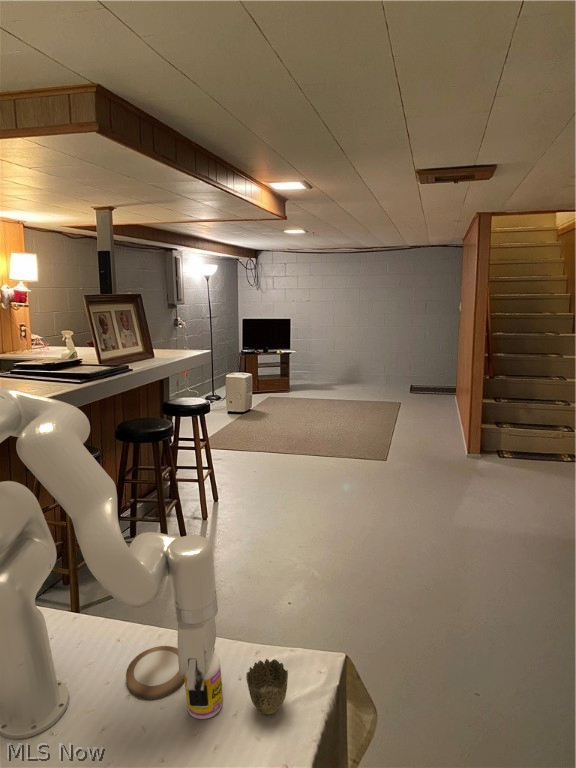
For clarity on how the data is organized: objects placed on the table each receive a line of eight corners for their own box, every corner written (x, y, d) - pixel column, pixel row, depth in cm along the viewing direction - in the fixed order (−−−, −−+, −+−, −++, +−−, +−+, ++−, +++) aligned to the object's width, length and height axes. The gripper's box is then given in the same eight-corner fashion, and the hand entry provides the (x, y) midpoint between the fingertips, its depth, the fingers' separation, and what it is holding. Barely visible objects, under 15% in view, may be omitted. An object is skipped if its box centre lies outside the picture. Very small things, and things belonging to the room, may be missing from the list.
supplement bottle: (216, 723, 100) (211, 665, 96) (181, 718, 101) (175, 660, 97) (228, 693, 106) (223, 637, 102) (194, 688, 107) (189, 633, 104)
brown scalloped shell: (242, 702, 104) (239, 667, 102) (278, 687, 107) (276, 652, 105) (259, 733, 98) (256, 697, 95) (296, 716, 101) (295, 680, 98)
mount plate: (117, 698, 106) (116, 691, 105) (138, 651, 117) (137, 644, 117) (180, 700, 105) (179, 692, 104) (194, 652, 116) (194, 645, 116)
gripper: (186, 574, 106) (194, 652, 111) (160, 641, 89) (171, 728, 94) (225, 574, 105) (231, 652, 110) (206, 642, 89) (215, 730, 94)
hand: (203, 687), depth 102 cm, fingers closed on supplement bottle, 6 cm apart
